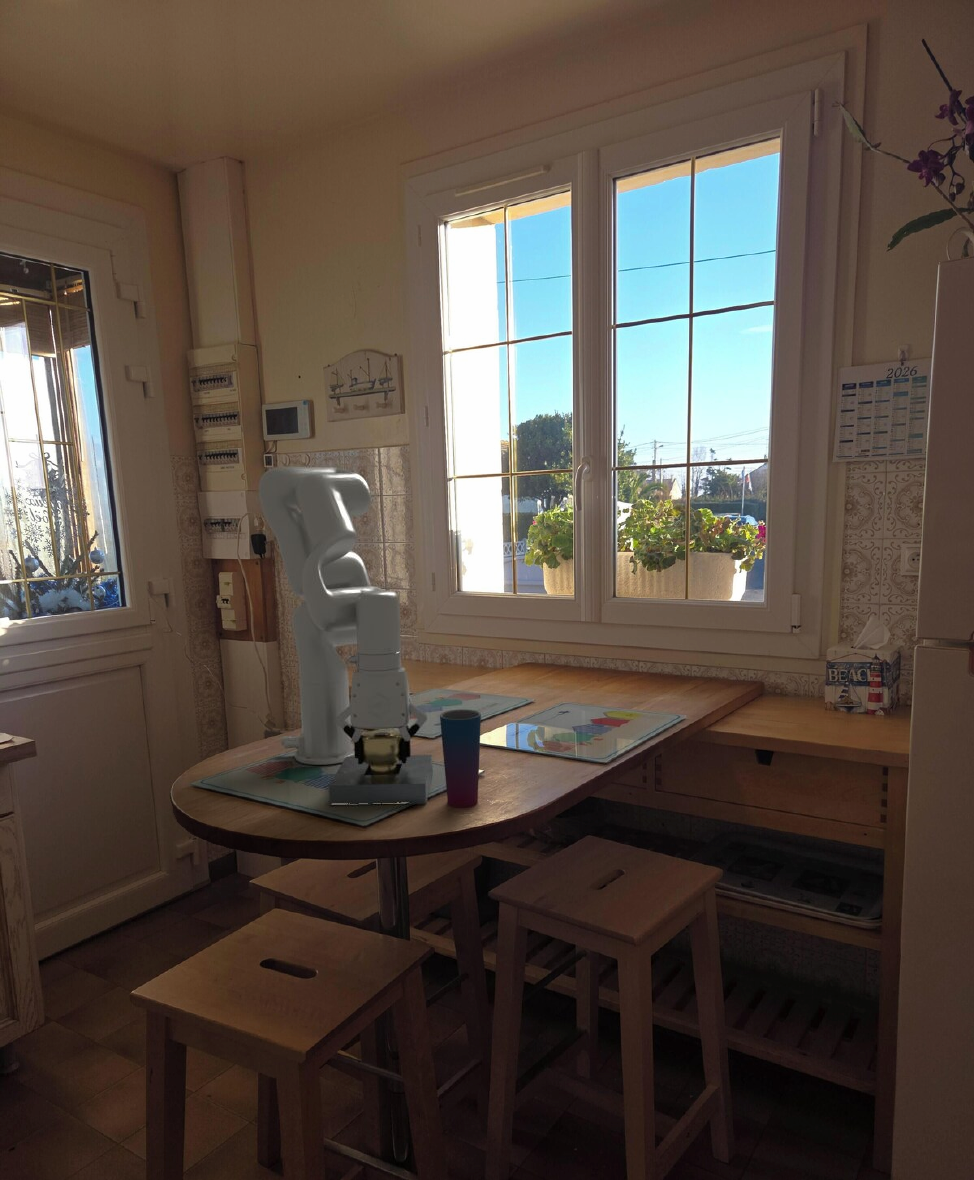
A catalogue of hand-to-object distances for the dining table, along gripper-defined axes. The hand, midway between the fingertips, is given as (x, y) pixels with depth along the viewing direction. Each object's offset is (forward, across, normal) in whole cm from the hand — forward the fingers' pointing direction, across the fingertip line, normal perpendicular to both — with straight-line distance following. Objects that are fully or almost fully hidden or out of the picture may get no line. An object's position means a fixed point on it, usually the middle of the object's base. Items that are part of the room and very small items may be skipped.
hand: (383, 760), depth 142 cm
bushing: (+3, 0, 0) cm, 3 cm away
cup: (+5, +14, -8) cm, 17 cm away
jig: (+5, 0, 0) cm, 5 cm away
